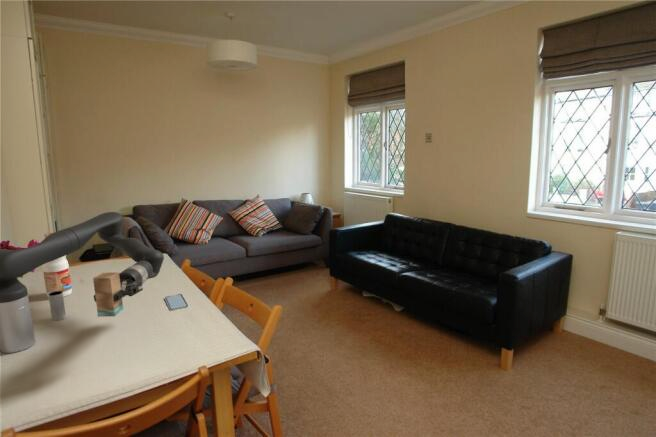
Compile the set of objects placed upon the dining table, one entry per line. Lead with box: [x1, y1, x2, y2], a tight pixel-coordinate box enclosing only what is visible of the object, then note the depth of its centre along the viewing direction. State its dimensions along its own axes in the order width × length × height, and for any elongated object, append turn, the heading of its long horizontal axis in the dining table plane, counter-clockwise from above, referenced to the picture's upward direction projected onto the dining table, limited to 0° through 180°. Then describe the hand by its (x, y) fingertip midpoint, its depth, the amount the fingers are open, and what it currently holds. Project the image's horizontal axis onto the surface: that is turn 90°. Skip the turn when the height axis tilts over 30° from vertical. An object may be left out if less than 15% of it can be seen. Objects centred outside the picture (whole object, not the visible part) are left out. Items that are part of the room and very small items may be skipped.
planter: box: [48, 291, 67, 322], centre depth 152 cm, size 4×4×10 cm
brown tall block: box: [92, 272, 124, 318], centre depth 120 cm, size 5×5×12 cm
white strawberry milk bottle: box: [42, 231, 73, 299], centre depth 174 cm, size 9×9×28 cm
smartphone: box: [164, 293, 190, 312], centre depth 168 cm, size 7×1×15 cm
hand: (105, 298), depth 118 cm, fingers closed on brown tall block, 5 cm apart
